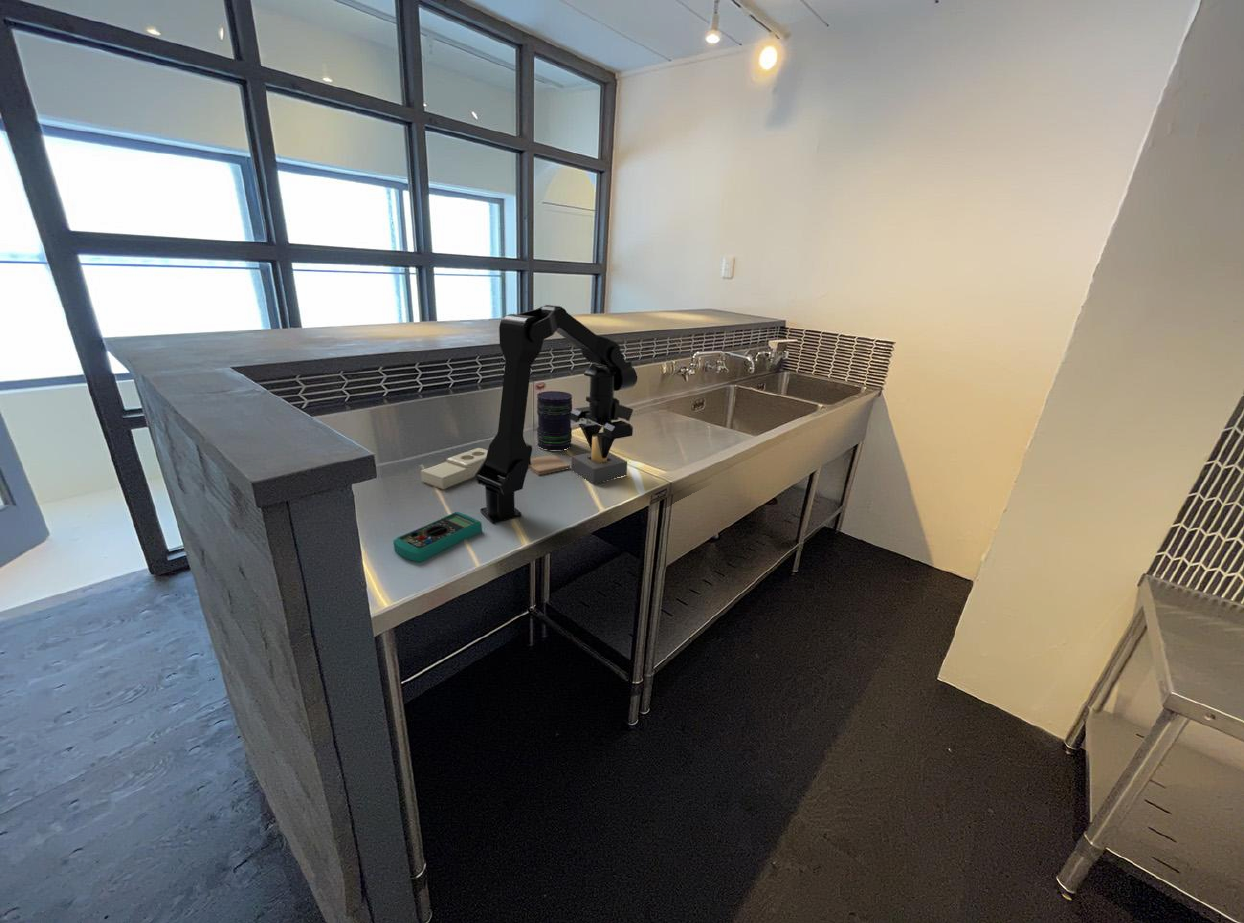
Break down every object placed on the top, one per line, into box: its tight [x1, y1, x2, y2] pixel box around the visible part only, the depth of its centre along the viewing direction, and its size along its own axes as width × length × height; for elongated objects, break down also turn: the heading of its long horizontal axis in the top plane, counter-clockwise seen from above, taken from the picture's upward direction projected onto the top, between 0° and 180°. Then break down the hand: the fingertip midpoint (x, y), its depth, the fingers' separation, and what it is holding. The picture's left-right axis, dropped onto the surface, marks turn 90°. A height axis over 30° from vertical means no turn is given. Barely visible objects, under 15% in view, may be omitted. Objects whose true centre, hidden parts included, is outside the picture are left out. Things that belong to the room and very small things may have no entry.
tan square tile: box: [528, 454, 571, 476], centre depth 130 cm, size 9×9×1 cm
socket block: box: [570, 451, 628, 485], centre depth 127 cm, size 10×10×4 cm
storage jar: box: [536, 390, 573, 450], centre depth 143 cm, size 10×10×15 cm
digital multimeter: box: [393, 511, 483, 563], centre depth 93 cm, size 7×15×3 cm, turn 146°
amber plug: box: [590, 434, 607, 463], centre depth 125 cm, size 4×4×10 cm
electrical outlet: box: [420, 447, 488, 490], centre depth 122 cm, size 7×4×18 cm
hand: (599, 455), depth 125 cm, fingers closed on amber plug, 4 cm apart
